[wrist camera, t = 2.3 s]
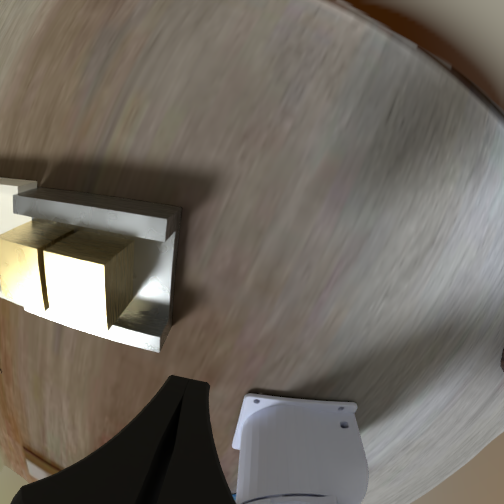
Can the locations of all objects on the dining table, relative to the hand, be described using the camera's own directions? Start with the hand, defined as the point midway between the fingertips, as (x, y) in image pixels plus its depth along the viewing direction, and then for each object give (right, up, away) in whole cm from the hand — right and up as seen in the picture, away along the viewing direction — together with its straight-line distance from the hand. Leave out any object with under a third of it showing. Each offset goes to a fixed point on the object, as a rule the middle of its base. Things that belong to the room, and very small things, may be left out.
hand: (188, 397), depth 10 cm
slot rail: (-8, +5, +9) cm, 13 cm away
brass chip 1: (-11, +5, +8) cm, 15 cm away
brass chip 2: (-7, +4, +8) cm, 12 cm away
